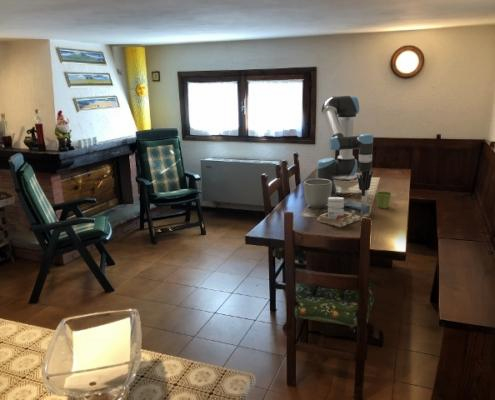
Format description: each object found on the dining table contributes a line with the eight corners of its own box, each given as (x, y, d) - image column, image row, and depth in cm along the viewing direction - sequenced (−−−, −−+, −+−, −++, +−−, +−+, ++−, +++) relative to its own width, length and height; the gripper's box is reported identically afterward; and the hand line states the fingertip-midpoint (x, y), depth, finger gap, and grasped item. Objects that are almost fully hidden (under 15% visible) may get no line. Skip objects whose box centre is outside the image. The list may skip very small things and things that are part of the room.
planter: (314, 201, 267) (314, 177, 263) (337, 205, 255) (337, 180, 251) (298, 207, 256) (297, 182, 251) (320, 212, 244) (321, 186, 239)
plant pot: (372, 205, 253) (373, 191, 251) (387, 204, 254) (388, 190, 251) (378, 209, 244) (379, 195, 242) (393, 208, 245) (394, 194, 243)
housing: (362, 215, 231) (362, 207, 230) (340, 209, 242) (340, 202, 241) (369, 212, 236) (370, 204, 234) (347, 207, 247) (348, 200, 245)
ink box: (343, 217, 230) (344, 196, 226) (343, 220, 225) (344, 199, 222) (328, 216, 232) (328, 196, 228) (327, 219, 227) (327, 198, 224)
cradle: (340, 227, 218) (340, 219, 217) (316, 220, 230) (316, 213, 229) (370, 215, 236) (370, 207, 234) (347, 209, 247) (347, 202, 246)
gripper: (364, 163, 230) (363, 204, 236) (377, 160, 238) (375, 199, 244) (353, 162, 235) (352, 202, 242) (366, 159, 243) (365, 197, 250)
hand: (364, 200), depth 243 cm, fingers closed
